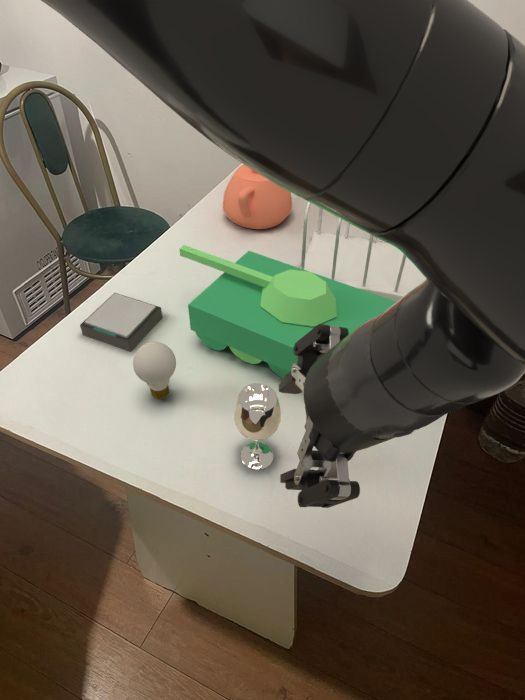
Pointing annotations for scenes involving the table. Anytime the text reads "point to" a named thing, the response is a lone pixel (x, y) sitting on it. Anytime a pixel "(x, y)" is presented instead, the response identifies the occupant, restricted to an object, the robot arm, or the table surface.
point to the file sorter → (359, 262)
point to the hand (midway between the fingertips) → (288, 433)
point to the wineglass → (257, 423)
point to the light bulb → (155, 367)
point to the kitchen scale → (121, 321)
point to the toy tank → (272, 307)
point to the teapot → (255, 200)
